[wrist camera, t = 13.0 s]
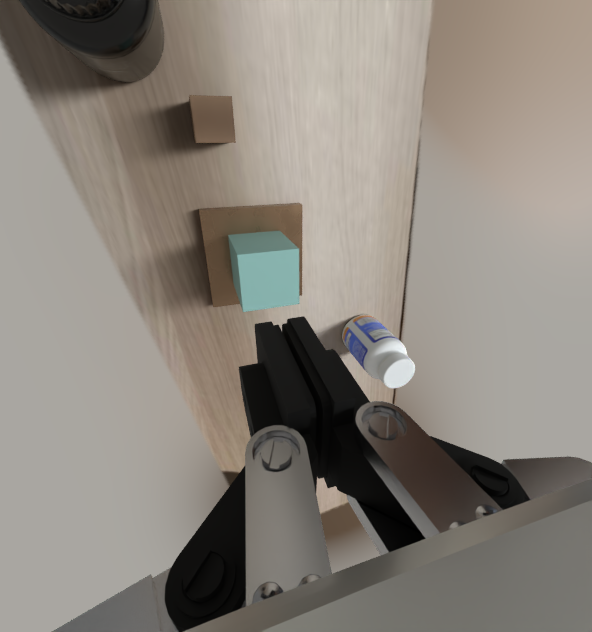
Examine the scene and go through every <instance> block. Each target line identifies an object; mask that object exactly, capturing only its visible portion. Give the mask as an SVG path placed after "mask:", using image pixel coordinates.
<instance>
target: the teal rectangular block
mask: <svg viewBox="0 0 592 632" xmlns="http://www.w3.org/2000/svg"><path fill="white" fill-rule="evenodd" d="M228 239H229V248H230V256H231V265H232V274H233V283H234V287H235V290H236V293H237V295H238V298H239V301H240V304H241V307H242V310H243V312H246V311H253V310H260V309H267V308H274V307H281V306H288V305H294V304H299V248H298V247H297V246H296V245H295V244H293V243H292V242H291V241H290V240H289V239H288V238H287V237H286V236H285V235H284V234H283V233H282V232H281V231H269V232H257V233H245V234H233V235H228Z"/></svg>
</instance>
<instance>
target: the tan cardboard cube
mask: <svg viewBox="0 0 592 632" xmlns="http://www.w3.org/2000/svg"><path fill="white" fill-rule="evenodd" d="M189 105H190V112H191V119H192V126H193V133H194V140H195V143H236V141H235V130H234V118H233V106H232V96H197V95H190V96H189Z"/></svg>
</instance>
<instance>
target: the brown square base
mask: <svg viewBox="0 0 592 632" xmlns="http://www.w3.org/2000/svg"><path fill="white" fill-rule="evenodd" d="M199 215H200V221H201V228H202V235H203V241H204V248H205V255H206V262H207V268H208V275H209V282H210V289H211V295H212V302H213V307H219V306H226V305H234V304H240V301H239V298H238V295H237V293H236V290H235V287H234V283H233V274H232V265H231V256H230V248H229V239H228V235H233V234H245V233H257V232H269V231H281V232H282V233H283V234H284V235H285V236H286V237H287V238H288V239H289V240H290V241H291V242H292V243H293V244H295V245H296V246H297V247H298V248H299V296H300V295H302V204H300V203H291V204H274V205H257V206H240V207H222V208H205V209H199Z"/></svg>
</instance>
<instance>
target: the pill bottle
mask: <svg viewBox="0 0 592 632" xmlns="http://www.w3.org/2000/svg"><path fill="white" fill-rule="evenodd" d="M342 340H343V343H344V344H345V346H346V347H347V349H348V350H349V351H350V352H351V354H352V355H353V356H354V357H355V359H356V360H357V361H358V362H359V363H360V365H361V366H362V367H363V368H364V370H365V371H366V372H367V373H368V374H369V375H370V376H371V377H373V378H375V379H380V380H381V381H382V382H383V383H384V384H385V385H386V386H387V387H389V388H398V387H401V386H403V385H405V384H406V383H407V382H408V381H409V380H410V379H411V378H412V377H413V374H414V372H415V365H414V363H413V361H412V360H411V359H410V358H409V357H408V356H407V351H406V348H405V346H404V345H403V344H402V343H401V342H400V341H399V340H398V339H397V338H396V337H395V336H394V335H393V334H392V333H391V332H390V331H388V330H387V329H386V328H385V327H384V326H383V325H382V324H381V323H380V322H378V321H377V320H376V319H375V318H374V317H372V316H370V315H359V316H357V317H355V318H353V319H351V320H350V321H349V322H348V323H347V324H346V326H345V327H344V329H343V333H342Z"/></svg>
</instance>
